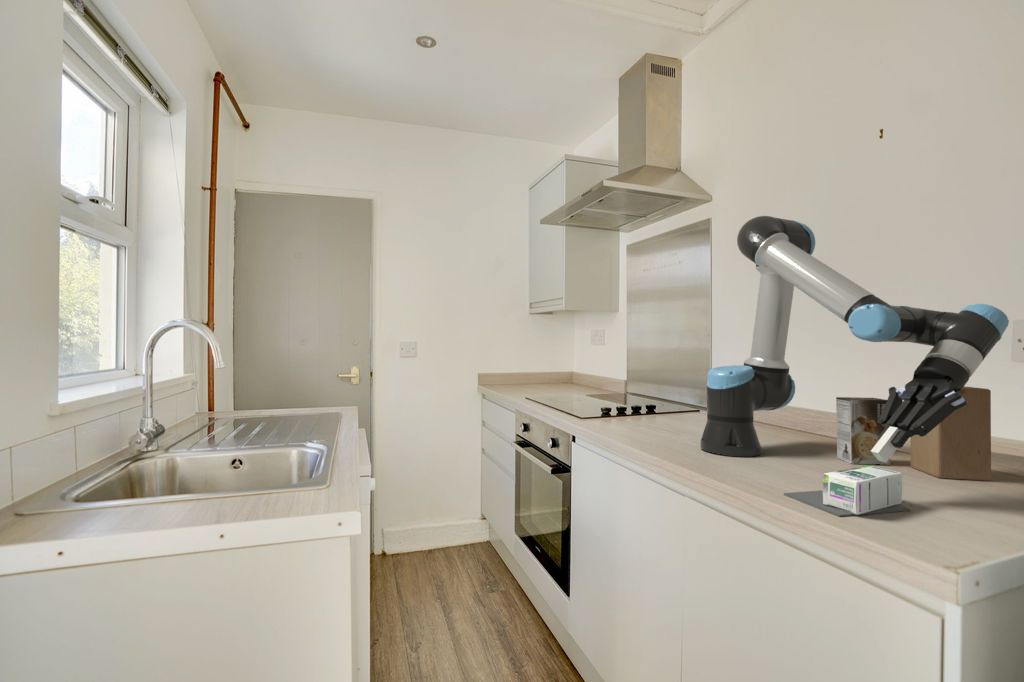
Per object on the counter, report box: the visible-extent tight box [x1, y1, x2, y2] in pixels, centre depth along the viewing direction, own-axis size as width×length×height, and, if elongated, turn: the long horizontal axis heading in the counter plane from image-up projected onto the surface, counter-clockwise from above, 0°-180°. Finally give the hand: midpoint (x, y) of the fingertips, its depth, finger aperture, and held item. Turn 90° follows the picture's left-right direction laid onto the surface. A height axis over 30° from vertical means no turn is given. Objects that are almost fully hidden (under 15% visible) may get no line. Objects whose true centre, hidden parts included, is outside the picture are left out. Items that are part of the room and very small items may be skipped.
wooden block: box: [910, 385, 992, 482], centre depth 106 cm, size 10×10×20 cm
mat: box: [783, 489, 911, 518], centre depth 86 cm, size 15×12×1 cm
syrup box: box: [822, 464, 903, 516], centre depth 84 cm, size 6×6×14 cm
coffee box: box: [835, 396, 891, 466], centre depth 117 cm, size 9×6×16 cm
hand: (878, 456), depth 88 cm, fingers closed
